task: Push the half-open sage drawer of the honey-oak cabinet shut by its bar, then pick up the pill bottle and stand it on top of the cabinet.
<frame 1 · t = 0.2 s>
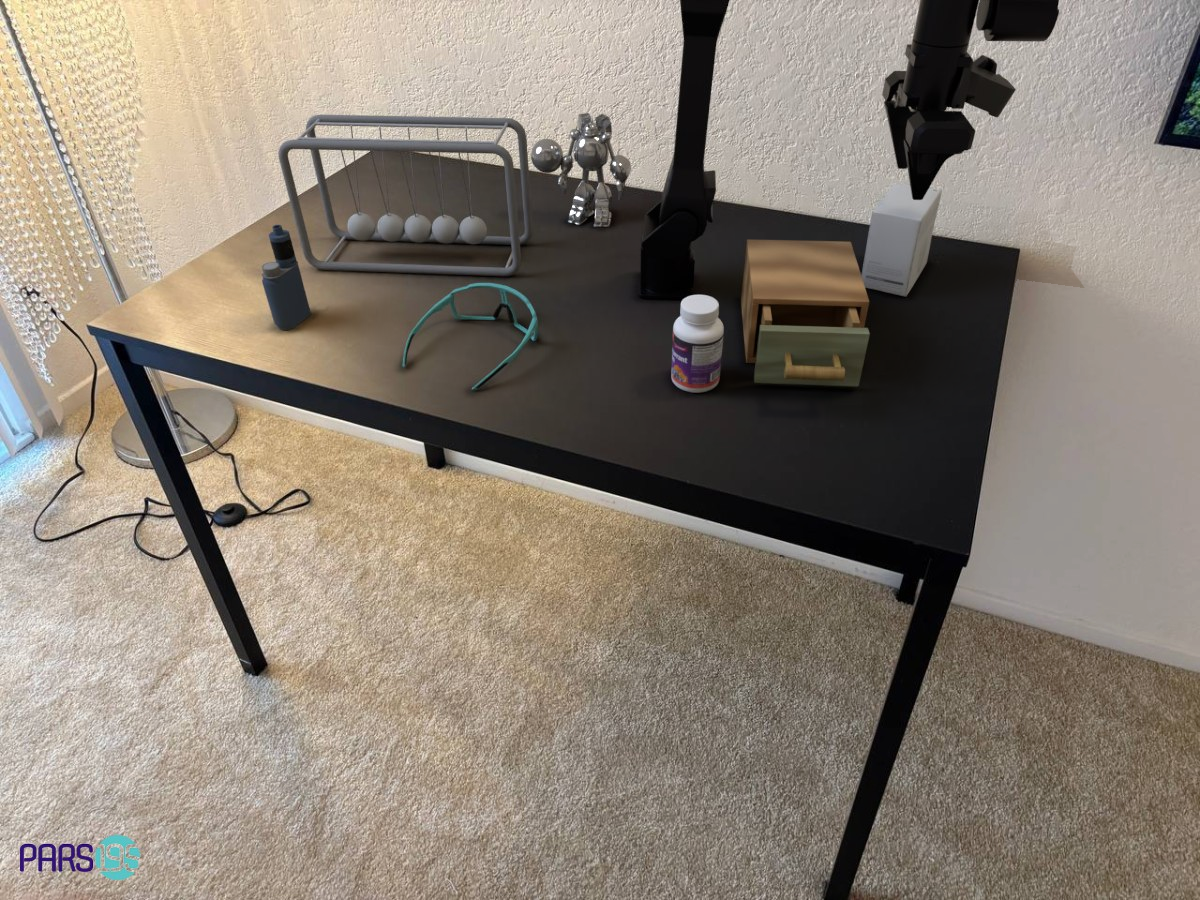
hand: (909, 183, 101), 15 cm above the table, tool pointing down, fingers open, 9 cm apart
robot toy: (582, 218, 130), on the table
cosmetics box: (891, 276, 114), on the table
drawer: (806, 335, 95), point 4 cm above the table, slide at 4.0 cm
pill bottle: (695, 381, 96), on the table
cabinet: (795, 331, 104), on the table
sunglasses: (475, 350, 102), on the table
vaping device: (294, 322, 108), on the table
newton's cradle: (423, 258, 121), on the table
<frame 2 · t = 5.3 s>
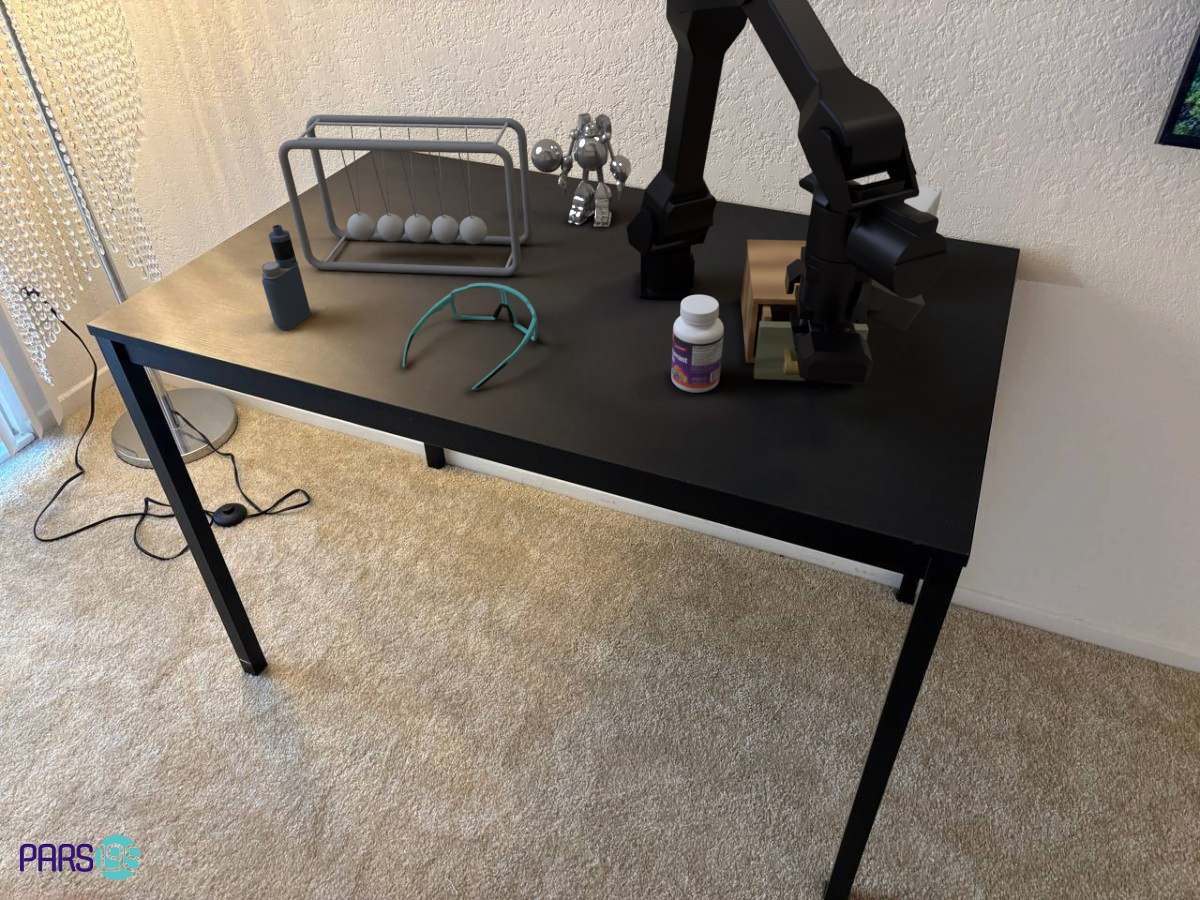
hand: (812, 388, 89), 3 cm above the table, tool pointing down, fingers closed
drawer: (805, 331, 96), point 4 cm above the table, slide at 3.2 cm, touching gripper
everything else where it was.
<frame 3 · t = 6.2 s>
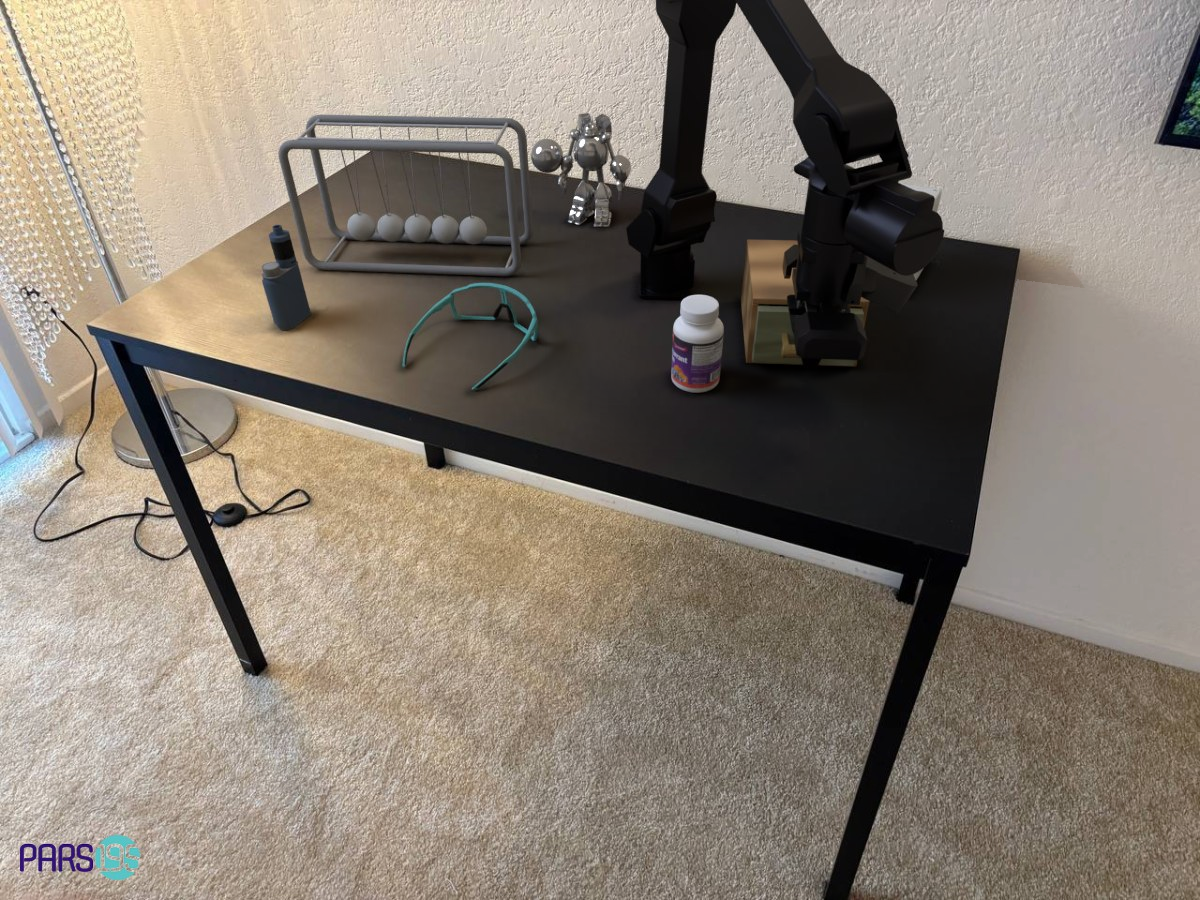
hand: (809, 369, 91), 3 cm above the table, tool pointing down, fingers closed
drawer: (802, 316, 98), point 4 cm above the table, slide at 0.0 cm, touching cabinet, gripper
everything else where it was.
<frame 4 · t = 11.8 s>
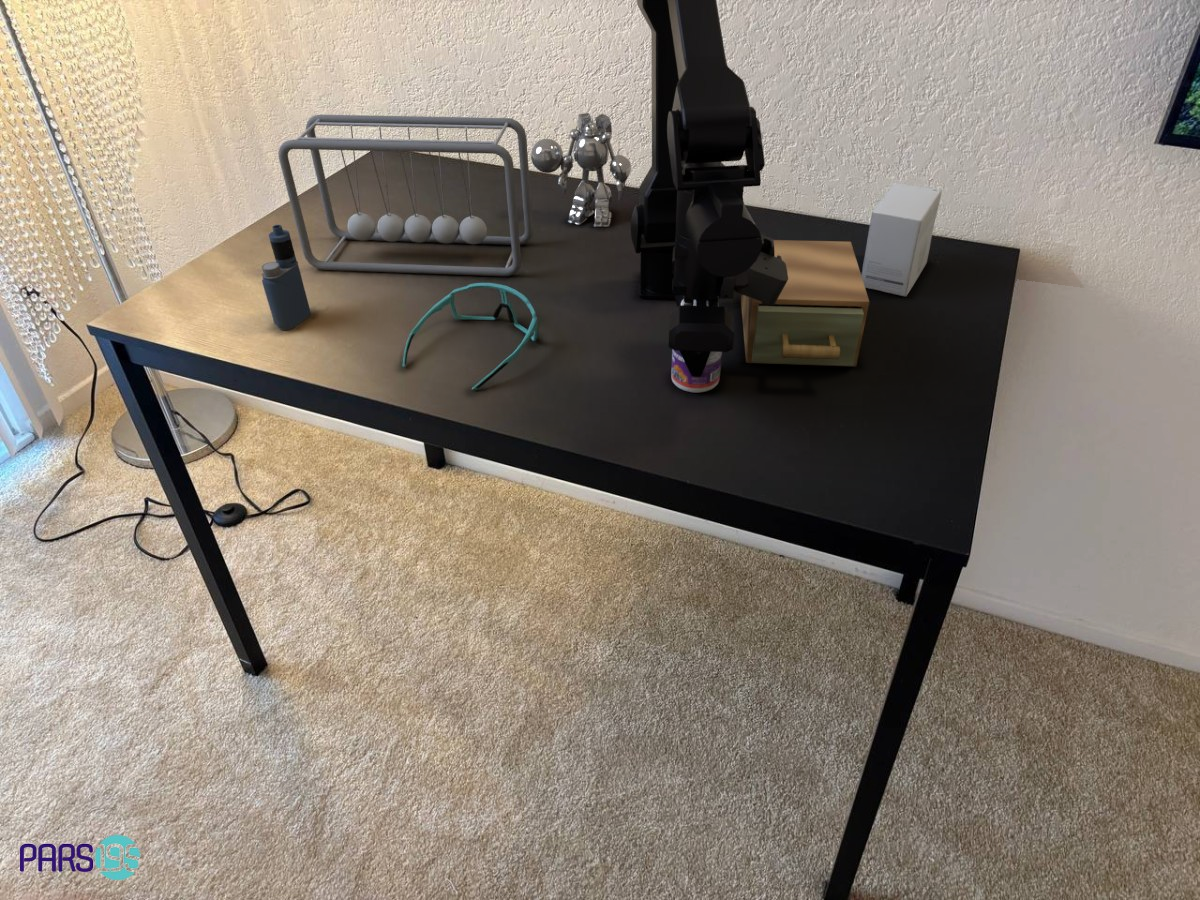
hand: (696, 361, 94), 3 cm above the table, tool pointing down, fingers closed on pill bottle, 5 cm apart
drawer: (802, 316, 98), point 4 cm above the table, slide at 0.0 cm, touching cabinet
pill bottle: (695, 381, 96), on the table, touching gripper
everything else where it was.
when the fingers open (11 cm above the table, at t = 15.9 s): pill bottle stays where it is, resting on cabinet.
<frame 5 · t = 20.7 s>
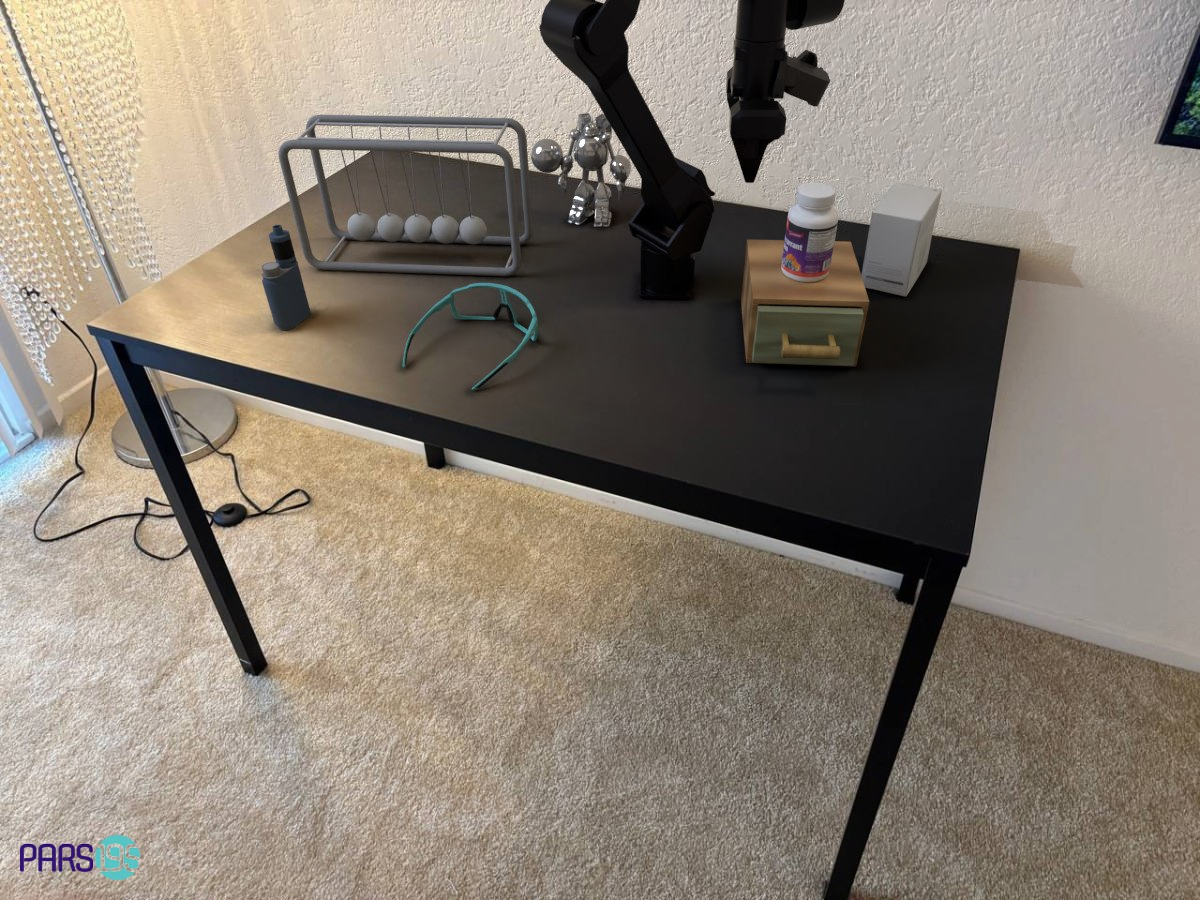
hand: (747, 168, 110), 13 cm above the table, tool pointing down, fingers open, 9 cm apart
pill bottle: (804, 273, 98), point 8 cm above the table, touching cabinet
everything else where it was.
at the end: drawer slide at 0.0 cm; pill bottle inside the target area on the cabinet (0.4 cm from its centre), point 8.2 cm above the cabinet's base; pill bottle tilted 0° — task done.
